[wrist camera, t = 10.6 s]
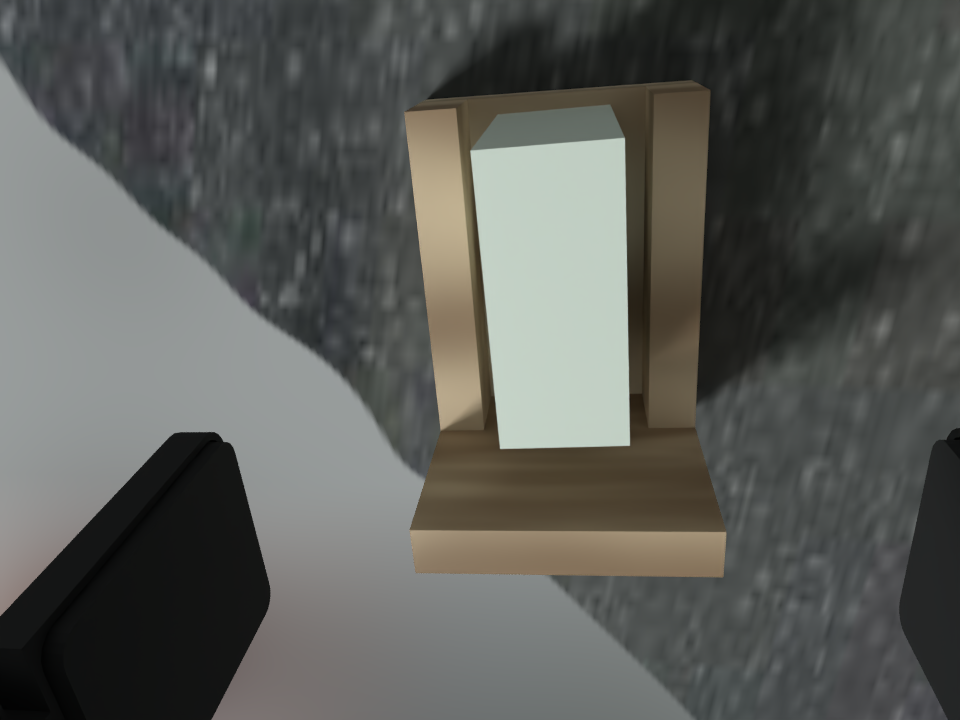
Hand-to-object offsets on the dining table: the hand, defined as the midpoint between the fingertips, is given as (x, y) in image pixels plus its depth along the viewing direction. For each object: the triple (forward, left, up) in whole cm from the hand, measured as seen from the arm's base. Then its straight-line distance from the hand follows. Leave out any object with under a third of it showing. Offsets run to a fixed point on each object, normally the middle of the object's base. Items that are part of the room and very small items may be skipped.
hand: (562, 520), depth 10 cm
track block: (+2, 0, -17) cm, 17 cm away
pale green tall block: (0, 0, -16) cm, 16 cm away
